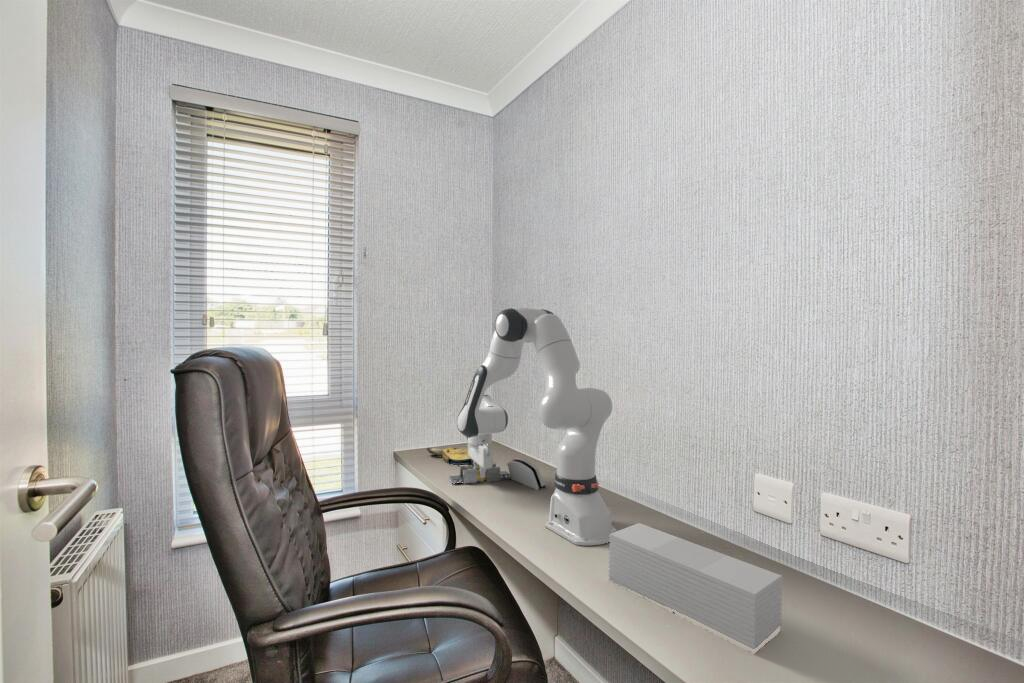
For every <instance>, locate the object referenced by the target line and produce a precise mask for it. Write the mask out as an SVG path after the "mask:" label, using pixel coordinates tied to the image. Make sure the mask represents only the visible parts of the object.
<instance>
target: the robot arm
mask: <svg viewBox="0 0 1024 683" xmlns="http://www.w3.org/2000/svg"><path fill="white" fill-rule="evenodd" d="M492 334H493V335H492V338H491V341H490V346H489V350H488V354H487V356H486V358H485V360H484V362H483V363H482V364H480V366H478V367H477V369H476V370H475V372H474V375H473V378H472V380H471V384H470V386H469V389H468V391H467V395H466V397H465V400H464V402H463V406H462V408H461V410H460V412H459V413H458V416H457V417H456V418H457V419H456V427H457V429H458V432H460V433H461V435H463V436H464V437H465V438H466V440H467V443H466V444H467V449H468V455H469V457H470V458H471V459H472V460H473V463H474V464H473V468H474V469H477V470H480V477H481V478H484V477H485V472H486V469H490V468H492V466H493V464H494V463H493V459H494V458H493V449H492V447H491V446H490V444H492V443H493V434H498V433H502V432H504V431H505V430H506V428H507V427H508V423H509V415H508V412H507V411H506V410H505V408H503V407H502V406H499V405H497V404H496V403H495V402H494V401H493V399H492V397H491V395H488V394H485V393H486V391H487V390H488V389H489V388H490V387H491V386H492V385H495V383H498V382H501V381H503V380H506V379H508V378H509V377H511V376H512V375H514V374H515V373H516V372H517V370H518V368H519V365H520V361H521V357H522V352H523V346H524V344H525V343H533V345H534V347H535V351H536V354H537V357H538V360H539V363H540V365H541V370H542V372H543V376H544V382H545V387H544V388H545V389H544V394H543V397H542V398H541V400H540V402H539V405H538V415H539V419H540V420H541V423H542V424H543V425H544V426H545V427H546V428H547V429H548V428H549V429H553V430H560V431H563V430H564V431H566V430H567V431H566V433H565V435H564V437H563V438H562V439H561V441H560V442H559V443H558V446H557V449H556V472H555V474H554V487H555V489H554V492H553V493H552V495H551V497H550V505H549V514H548V516H549V517H548V520H546V521H545V523H544V527H545V528H546V529H548V530H550V531H551V532H553V533H554V534H557V535H559V536H560V537H562V538H564V539H565V540H567V541H569V542H571V543H572V544H574V545H577V546H600V545H605V543H606V544H609V543H608V542H609V539H610V538H609V536H610V534H611V533H614V532H616V531H618V530H617V529H616V528H615V526H614V525H613V522H612V513H613V512H612V508H611V507H610V506H607V505H606V503H605V501H604V498H602V496H601V494H600V492H599V488H600V486H599V485H600V483H598V478H597V476H596V454H597V453H596V452H597V445H598V441H599V438H600V435H601V432H602V428H603V426H604V425H605V422H606V421H607V420H608V419H609V417H610V416H611V413H612V410H613V401H612V399H611V397H610V395H609V394H608V393H607V392H606V391H604V390H602V389H599V388H598V389H597V388H593V387H587V388H586V387H585V388H578V387H577V382H576V375H577V373H578V372H579V370H580V368H581V363H580V360H579V358H578V355H577V352H576V350H575V346H574V344H573V342H572V339H571V337H570V334H569V332H568V331H567V328H566V326H565V325H564V323H563V321H562V320H561V318H560V317H559V316H558V315H556V314H555V313H554V312H552V311H550V310H548V309H544V308H542V309H539V308H538V309H537V308H529V307H519V308H512V307H511V308H507V309H506V308H505V309H504V310H500V311H499V312H498V314H497V315H496V317H495V320H494V332H493V333H492Z"/></svg>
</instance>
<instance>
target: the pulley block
mask: <svg viewBox="0 0 1024 683" xmlns="http://www.w3.org/2000/svg"><path fill="white" fill-rule="evenodd" d="M426 451H427V452H428V453H429V454H431V455H438V456H442V457H441V458H442V460H443V461H444V462H445V463H447V464H448V463H449V464H450V465H451V464H453V465H468V466H472V465H474V463H473V460H472V459H471V458H470V457H469V455H468V448H463V447H461V448H460V447H445V448H443V449H441V448H437V447H427V448H426ZM449 464H448V465H449ZM453 465H452V466H453Z"/></svg>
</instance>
